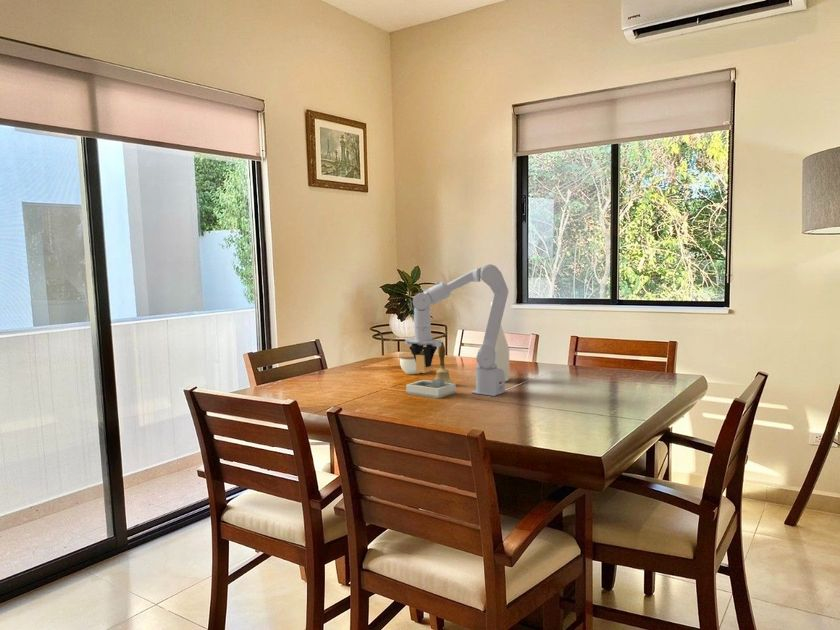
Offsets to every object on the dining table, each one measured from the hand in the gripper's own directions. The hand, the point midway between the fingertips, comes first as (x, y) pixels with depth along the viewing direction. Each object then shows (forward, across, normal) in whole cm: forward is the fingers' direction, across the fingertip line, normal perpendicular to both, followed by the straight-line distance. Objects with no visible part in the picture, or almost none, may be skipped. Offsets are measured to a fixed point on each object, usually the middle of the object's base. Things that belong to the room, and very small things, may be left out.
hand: (423, 366), depth 213 cm
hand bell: (+10, -2, +14) cm, 17 cm away
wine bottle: (+10, +11, +31) cm, 34 cm away
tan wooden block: (+2, 0, 0) cm, 2 cm away
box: (+9, +3, 0) cm, 10 cm away
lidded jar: (+10, -27, +27) cm, 40 cm away
